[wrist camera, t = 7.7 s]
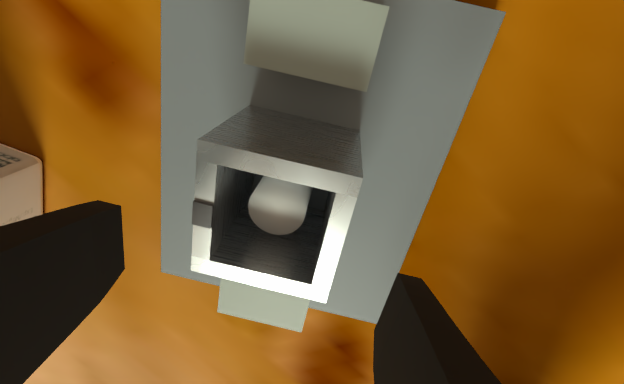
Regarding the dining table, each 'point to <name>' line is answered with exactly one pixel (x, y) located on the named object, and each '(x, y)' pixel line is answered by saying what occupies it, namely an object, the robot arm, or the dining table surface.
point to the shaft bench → (326, 108)
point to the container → (19, 185)
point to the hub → (285, 166)
